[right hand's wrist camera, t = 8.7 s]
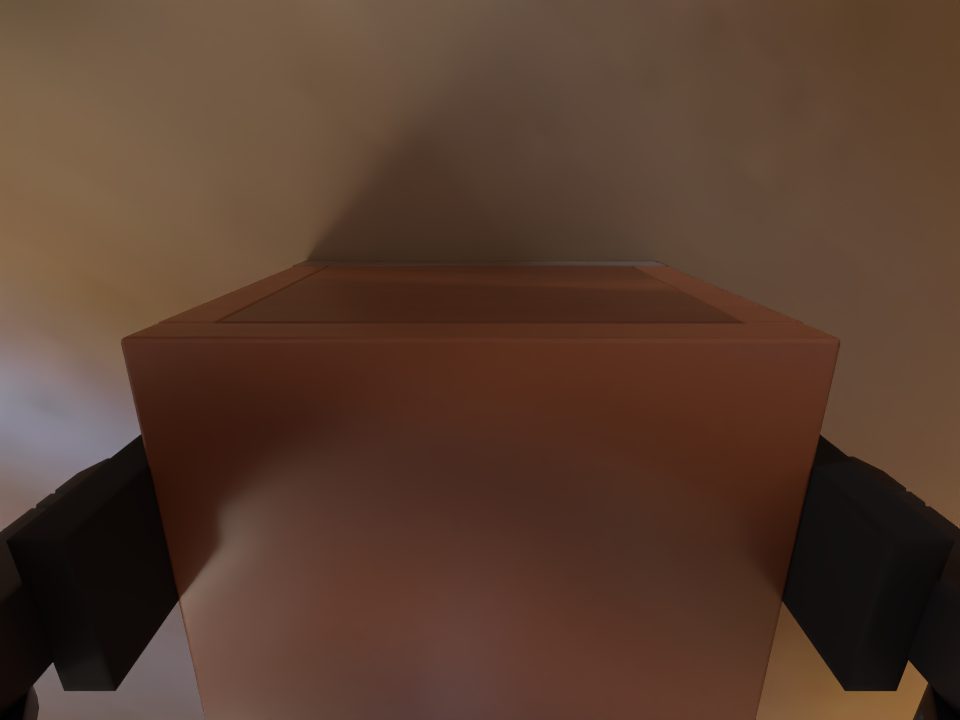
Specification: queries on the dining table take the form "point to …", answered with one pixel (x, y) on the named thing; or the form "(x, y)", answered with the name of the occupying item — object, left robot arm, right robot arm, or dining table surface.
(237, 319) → the cabinet
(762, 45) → the dining table surface
